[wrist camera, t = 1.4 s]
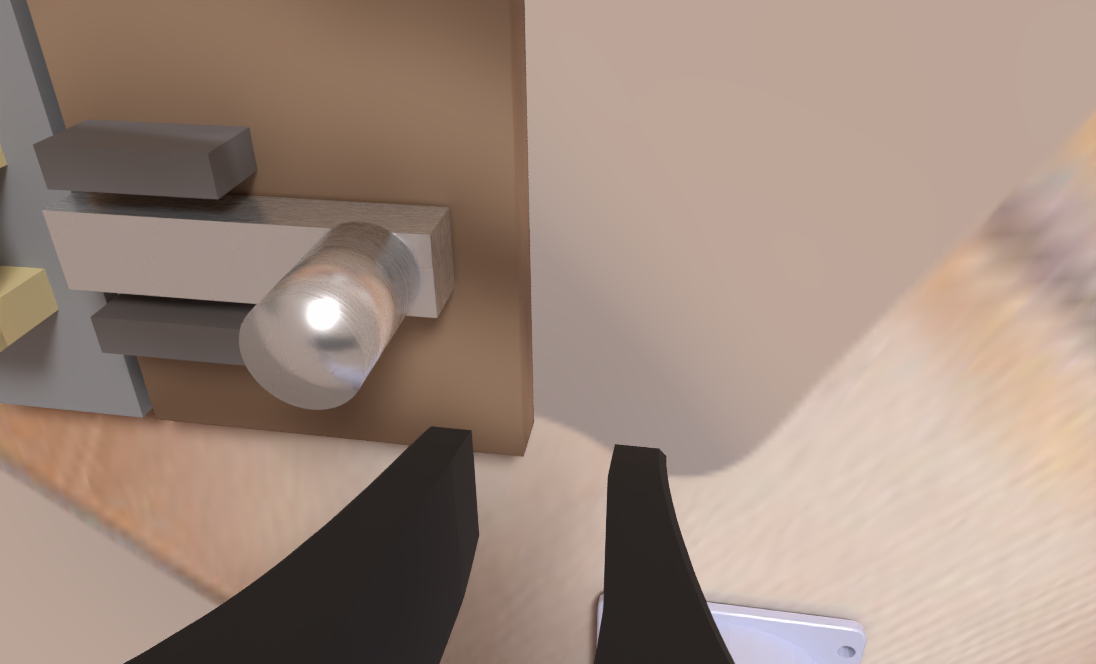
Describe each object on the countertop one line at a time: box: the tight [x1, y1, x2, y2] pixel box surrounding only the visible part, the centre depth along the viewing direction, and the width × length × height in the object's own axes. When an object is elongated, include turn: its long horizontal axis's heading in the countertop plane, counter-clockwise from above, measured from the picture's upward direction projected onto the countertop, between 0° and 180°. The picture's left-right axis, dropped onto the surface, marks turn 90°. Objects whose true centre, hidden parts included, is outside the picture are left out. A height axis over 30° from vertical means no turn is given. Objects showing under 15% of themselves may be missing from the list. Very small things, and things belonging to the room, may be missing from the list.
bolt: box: [42, 191, 455, 410], centre depth 18 cm, size 2×9×5 cm, turn 90°
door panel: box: [27, 0, 534, 457], centre depth 20 cm, size 12×11×3 cm
